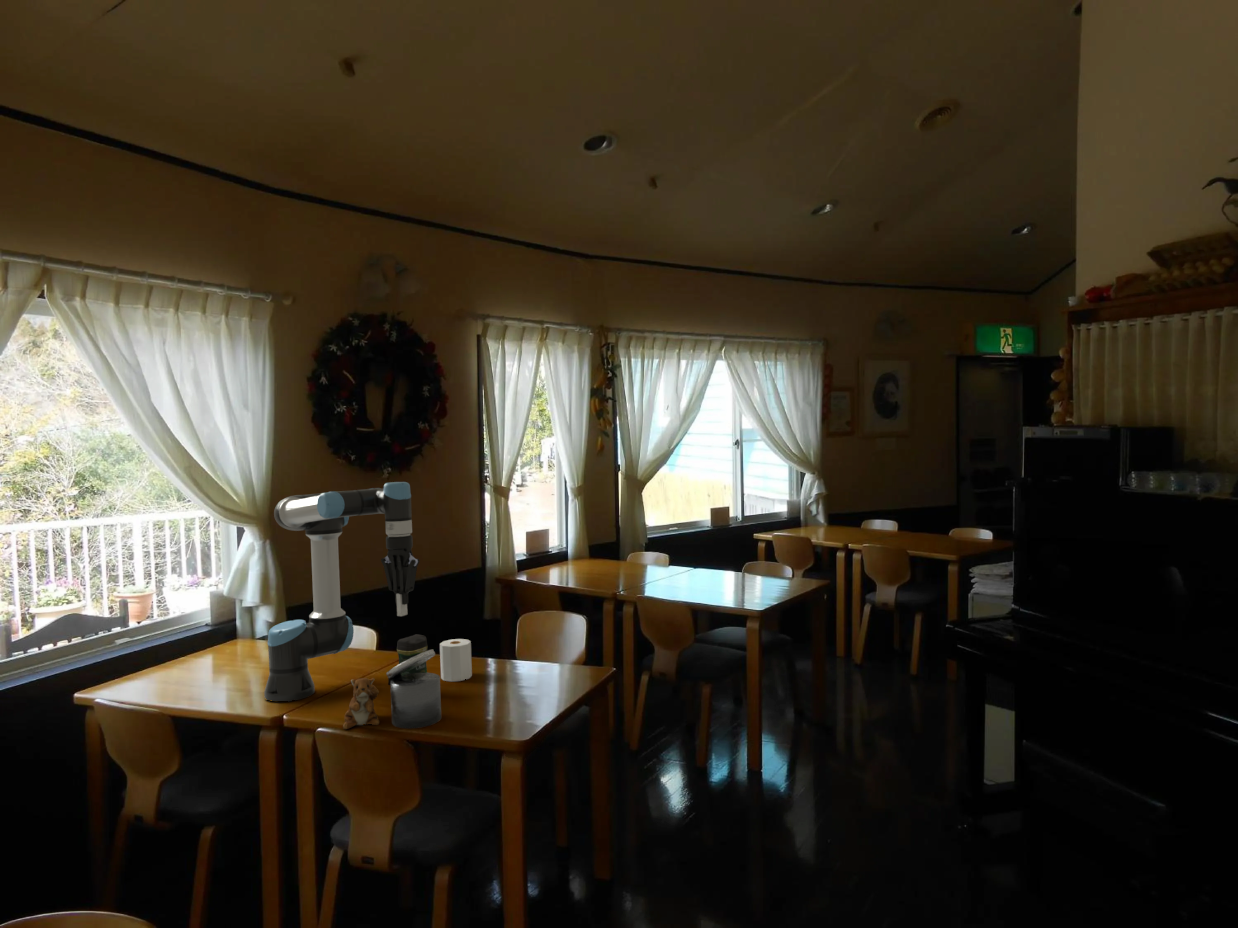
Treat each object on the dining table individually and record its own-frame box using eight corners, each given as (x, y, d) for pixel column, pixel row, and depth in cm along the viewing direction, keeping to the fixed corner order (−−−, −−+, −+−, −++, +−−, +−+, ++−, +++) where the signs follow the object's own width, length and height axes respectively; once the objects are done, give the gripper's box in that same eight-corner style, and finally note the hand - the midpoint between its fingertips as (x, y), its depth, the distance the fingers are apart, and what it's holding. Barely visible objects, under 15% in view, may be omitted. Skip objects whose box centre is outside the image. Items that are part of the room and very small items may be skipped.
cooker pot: (377, 723, 235) (376, 682, 235) (411, 708, 248) (409, 669, 247) (419, 731, 228) (417, 689, 228) (451, 715, 241) (449, 675, 240)
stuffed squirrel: (342, 731, 230) (340, 685, 230) (346, 714, 244) (345, 671, 243) (379, 727, 233) (377, 681, 232) (381, 711, 246) (379, 668, 246)
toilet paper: (435, 677, 280) (434, 642, 279) (462, 670, 286) (460, 636, 286) (450, 683, 272) (449, 647, 272) (477, 676, 279) (476, 641, 278)
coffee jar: (412, 699, 257) (410, 640, 256) (393, 695, 261) (391, 638, 260) (433, 690, 265) (431, 633, 264) (415, 687, 269) (413, 631, 268)
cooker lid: (376, 684, 235) (374, 679, 235) (411, 670, 247) (409, 666, 248) (410, 661, 228) (408, 657, 228) (444, 649, 241) (442, 644, 241)
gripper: (373, 535, 237) (376, 616, 238) (407, 537, 231) (410, 619, 232) (391, 532, 244) (394, 610, 245) (425, 533, 238) (428, 614, 239)
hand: (402, 615), depth 238 cm, fingers closed
